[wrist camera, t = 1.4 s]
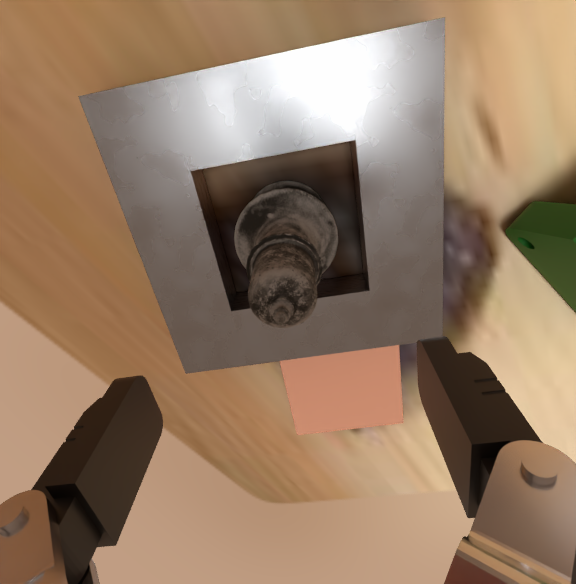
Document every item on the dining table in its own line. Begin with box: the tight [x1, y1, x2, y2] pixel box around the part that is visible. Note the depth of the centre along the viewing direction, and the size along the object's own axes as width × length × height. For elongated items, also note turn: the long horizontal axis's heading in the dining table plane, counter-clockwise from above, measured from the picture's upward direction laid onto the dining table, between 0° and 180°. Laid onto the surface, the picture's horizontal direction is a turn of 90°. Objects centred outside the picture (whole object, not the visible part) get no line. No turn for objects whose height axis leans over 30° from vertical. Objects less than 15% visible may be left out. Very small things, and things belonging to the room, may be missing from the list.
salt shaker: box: [234, 180, 338, 328], centre depth 19 cm, size 6×6×12 cm
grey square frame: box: [78, 17, 445, 374], centre depth 23 cm, size 18×18×2 cm
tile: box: [280, 345, 403, 435], centre depth 31 cm, size 9×9×1 cm
